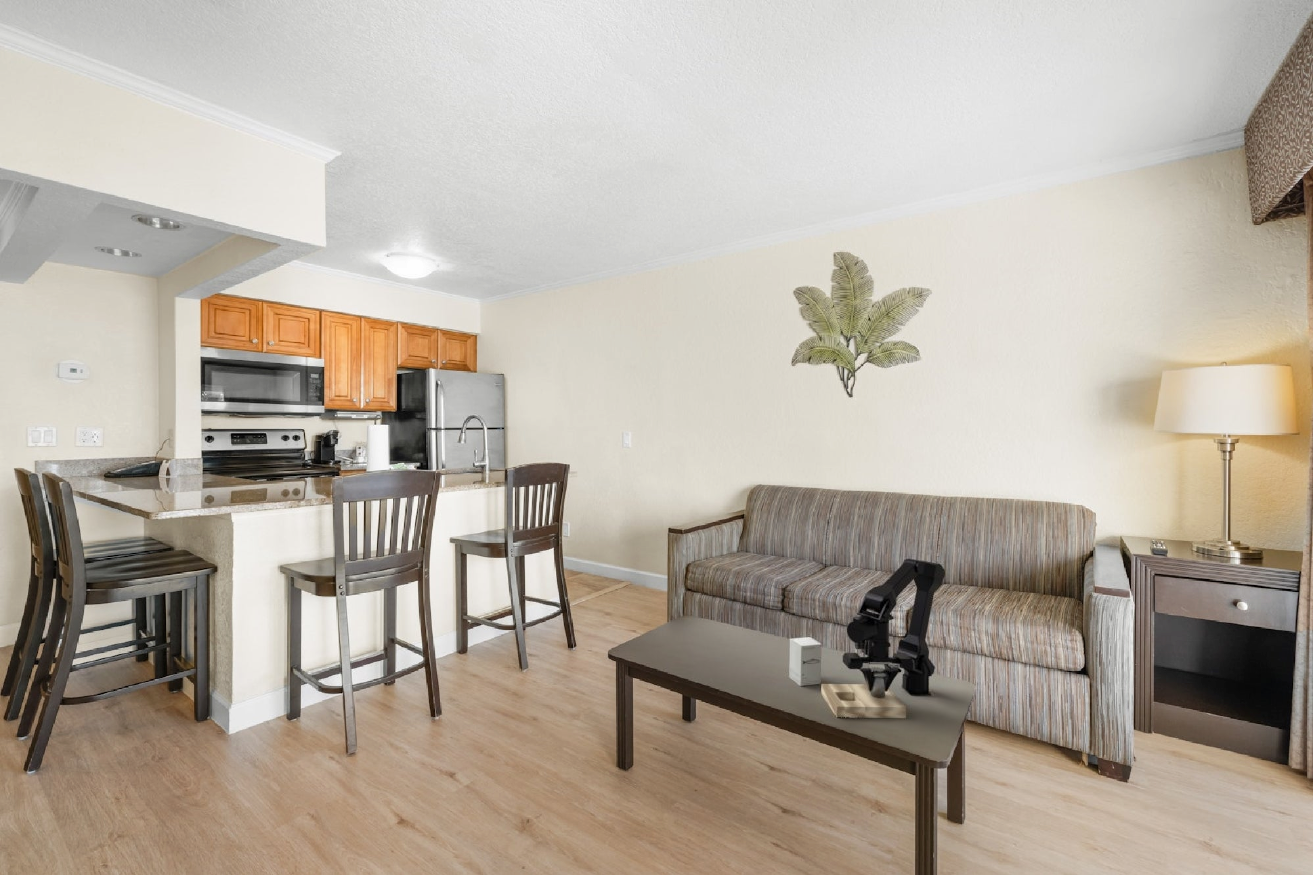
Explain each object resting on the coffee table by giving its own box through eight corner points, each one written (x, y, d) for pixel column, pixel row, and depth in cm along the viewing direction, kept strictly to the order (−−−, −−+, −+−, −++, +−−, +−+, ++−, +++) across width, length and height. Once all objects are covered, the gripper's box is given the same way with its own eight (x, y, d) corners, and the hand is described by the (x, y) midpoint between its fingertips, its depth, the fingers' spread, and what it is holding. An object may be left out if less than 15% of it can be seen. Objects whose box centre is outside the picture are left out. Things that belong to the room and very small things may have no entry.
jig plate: (884, 694, 178) (884, 684, 178) (906, 718, 163) (906, 707, 163) (821, 693, 178) (821, 683, 178) (836, 717, 163) (836, 706, 163)
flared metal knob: (883, 691, 173) (883, 667, 173) (890, 699, 168) (890, 674, 168) (865, 691, 173) (865, 667, 173) (871, 699, 168) (872, 674, 168)
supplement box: (800, 686, 183) (800, 645, 183) (788, 677, 190) (789, 637, 190) (821, 684, 185) (822, 643, 185) (809, 675, 192) (809, 636, 192)
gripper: (899, 627, 179) (898, 679, 179) (837, 627, 178) (836, 679, 178) (915, 640, 167) (915, 695, 167) (849, 639, 167) (848, 695, 167)
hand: (877, 690), depth 170 cm, fingers closed on flared metal knob, 4 cm apart
